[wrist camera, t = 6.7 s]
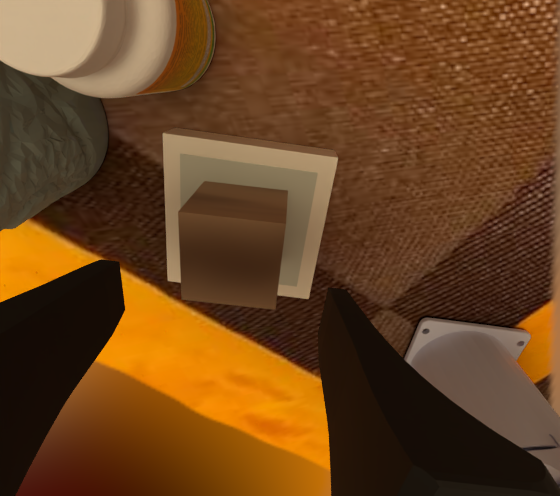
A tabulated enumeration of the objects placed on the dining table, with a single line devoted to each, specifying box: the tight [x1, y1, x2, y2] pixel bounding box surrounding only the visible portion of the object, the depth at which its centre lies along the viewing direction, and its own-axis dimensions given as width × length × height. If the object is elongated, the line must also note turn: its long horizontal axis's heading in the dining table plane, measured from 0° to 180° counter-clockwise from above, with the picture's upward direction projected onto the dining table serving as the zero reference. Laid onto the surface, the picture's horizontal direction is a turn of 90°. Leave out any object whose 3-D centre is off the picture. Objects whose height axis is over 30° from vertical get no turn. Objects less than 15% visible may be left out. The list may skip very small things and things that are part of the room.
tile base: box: [163, 128, 338, 299], centre depth 20 cm, size 9×9×2 cm
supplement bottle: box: [0, 0, 216, 98], centre depth 12 cm, size 5×5×10 cm
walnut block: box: [178, 181, 288, 310], centre depth 17 cm, size 4×4×4 cm
